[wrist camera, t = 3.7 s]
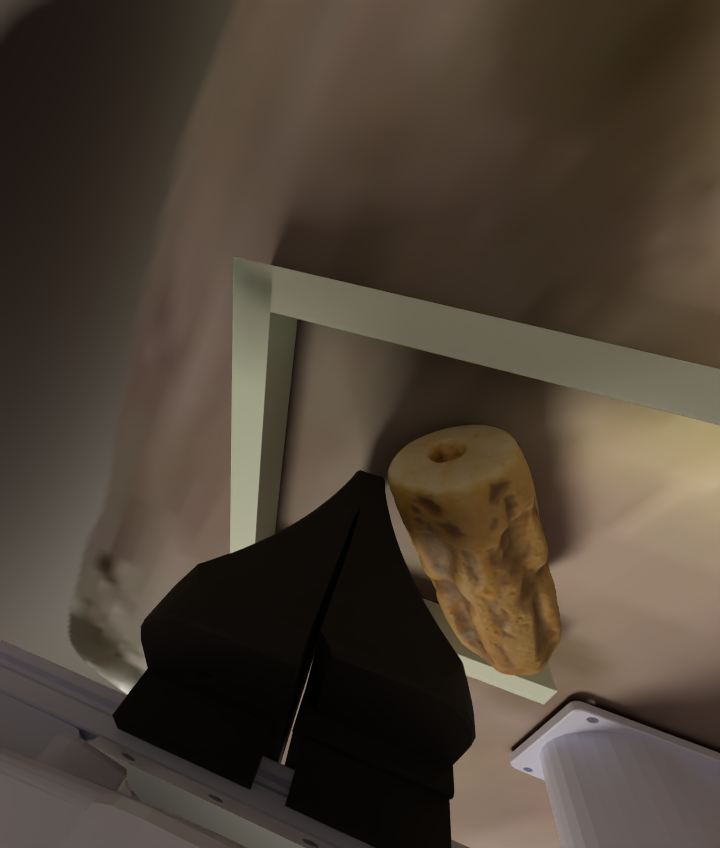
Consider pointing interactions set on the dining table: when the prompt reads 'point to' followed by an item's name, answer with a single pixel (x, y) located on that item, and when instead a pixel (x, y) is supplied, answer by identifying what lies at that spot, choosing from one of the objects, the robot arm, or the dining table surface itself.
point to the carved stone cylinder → (481, 542)
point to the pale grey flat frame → (429, 331)
